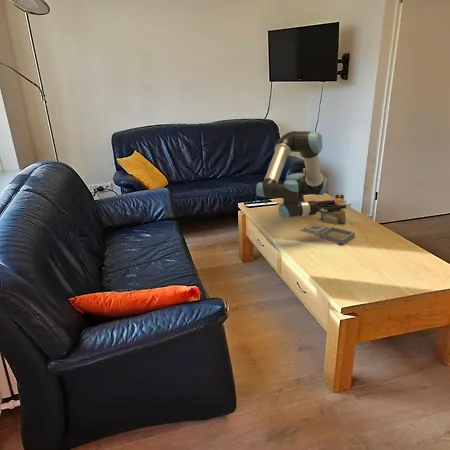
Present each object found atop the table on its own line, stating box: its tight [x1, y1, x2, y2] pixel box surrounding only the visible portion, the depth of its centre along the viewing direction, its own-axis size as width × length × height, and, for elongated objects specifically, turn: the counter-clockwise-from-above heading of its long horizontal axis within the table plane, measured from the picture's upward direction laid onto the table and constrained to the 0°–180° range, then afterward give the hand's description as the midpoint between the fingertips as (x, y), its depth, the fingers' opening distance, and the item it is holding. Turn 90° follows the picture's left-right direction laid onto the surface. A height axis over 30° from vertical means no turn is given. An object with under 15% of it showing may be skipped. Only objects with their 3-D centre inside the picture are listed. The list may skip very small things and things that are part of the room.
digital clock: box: [320, 209, 347, 226], centre depth 240 cm, size 16×9×11 cm, turn 38°
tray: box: [318, 226, 356, 246], centre depth 220 cm, size 14×14×3 cm
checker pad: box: [299, 223, 330, 236], centre depth 231 cm, size 14×12×2 cm
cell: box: [334, 193, 345, 218], centre depth 213 cm, size 4×4×13 cm
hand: (348, 204), depth 214 cm, fingers closed on cell, 4 cm apart
